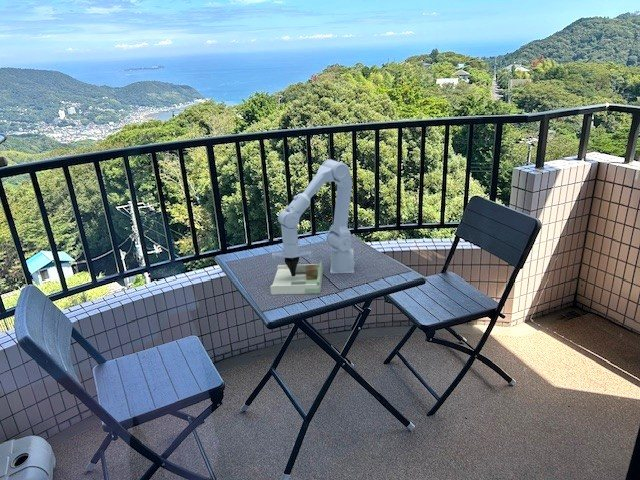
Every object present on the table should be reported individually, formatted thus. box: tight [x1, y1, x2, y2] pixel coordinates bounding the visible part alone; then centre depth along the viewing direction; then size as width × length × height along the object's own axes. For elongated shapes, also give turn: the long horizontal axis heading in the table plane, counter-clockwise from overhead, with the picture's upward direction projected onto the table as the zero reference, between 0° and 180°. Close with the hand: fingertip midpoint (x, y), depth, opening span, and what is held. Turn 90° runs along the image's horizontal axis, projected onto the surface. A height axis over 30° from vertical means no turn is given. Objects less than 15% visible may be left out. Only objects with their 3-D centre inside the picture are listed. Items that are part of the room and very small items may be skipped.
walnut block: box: [305, 265, 318, 280], centre depth 167 cm, size 4×4×4 cm
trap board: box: [269, 261, 324, 296], centre depth 168 cm, size 18×18×4 cm
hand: (293, 275), depth 167 cm, fingers closed
